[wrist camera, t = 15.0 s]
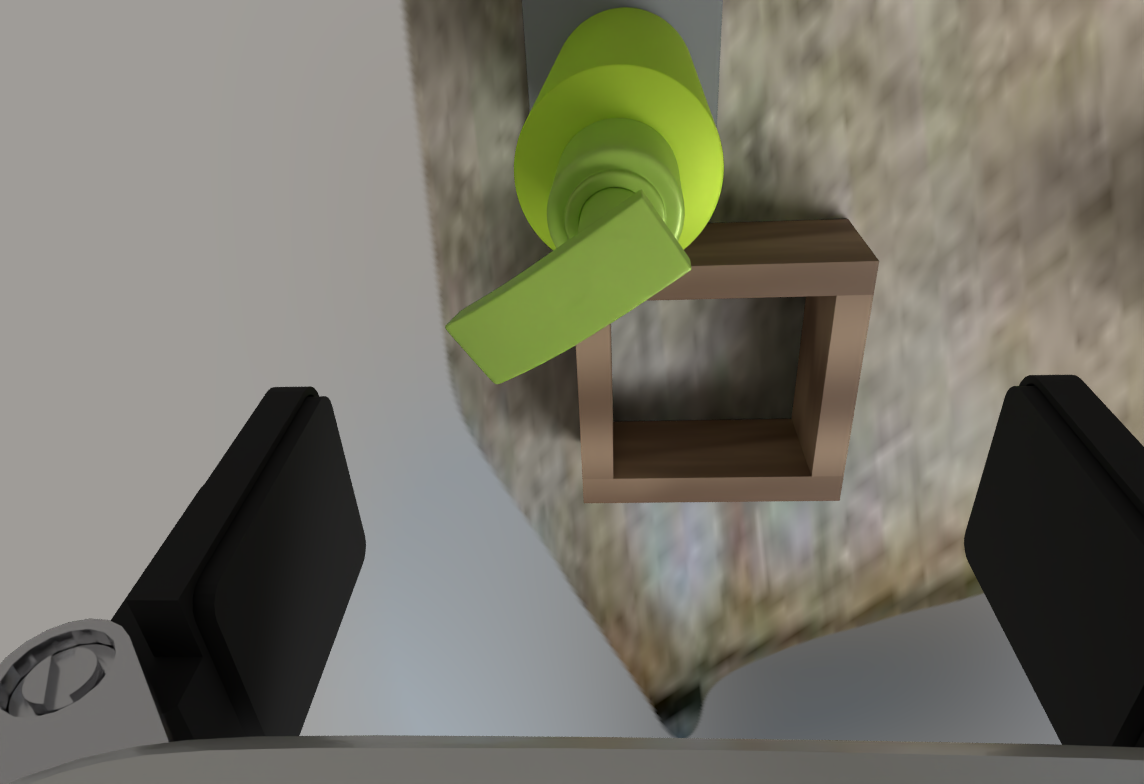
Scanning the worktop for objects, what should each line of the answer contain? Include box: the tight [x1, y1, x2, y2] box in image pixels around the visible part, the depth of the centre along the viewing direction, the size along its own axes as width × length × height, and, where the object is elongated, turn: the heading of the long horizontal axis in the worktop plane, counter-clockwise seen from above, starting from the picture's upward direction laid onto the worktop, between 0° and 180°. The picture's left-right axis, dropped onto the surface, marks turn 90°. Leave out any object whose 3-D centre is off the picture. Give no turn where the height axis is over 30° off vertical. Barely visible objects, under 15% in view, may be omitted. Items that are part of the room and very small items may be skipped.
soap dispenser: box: [445, 7, 724, 384], centre depth 25 cm, size 6×7×20 cm
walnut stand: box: [576, 219, 879, 503], centre depth 38 cm, size 12×12×5 cm
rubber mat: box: [522, 0, 723, 128], centre depth 34 cm, size 9×8×1 cm
